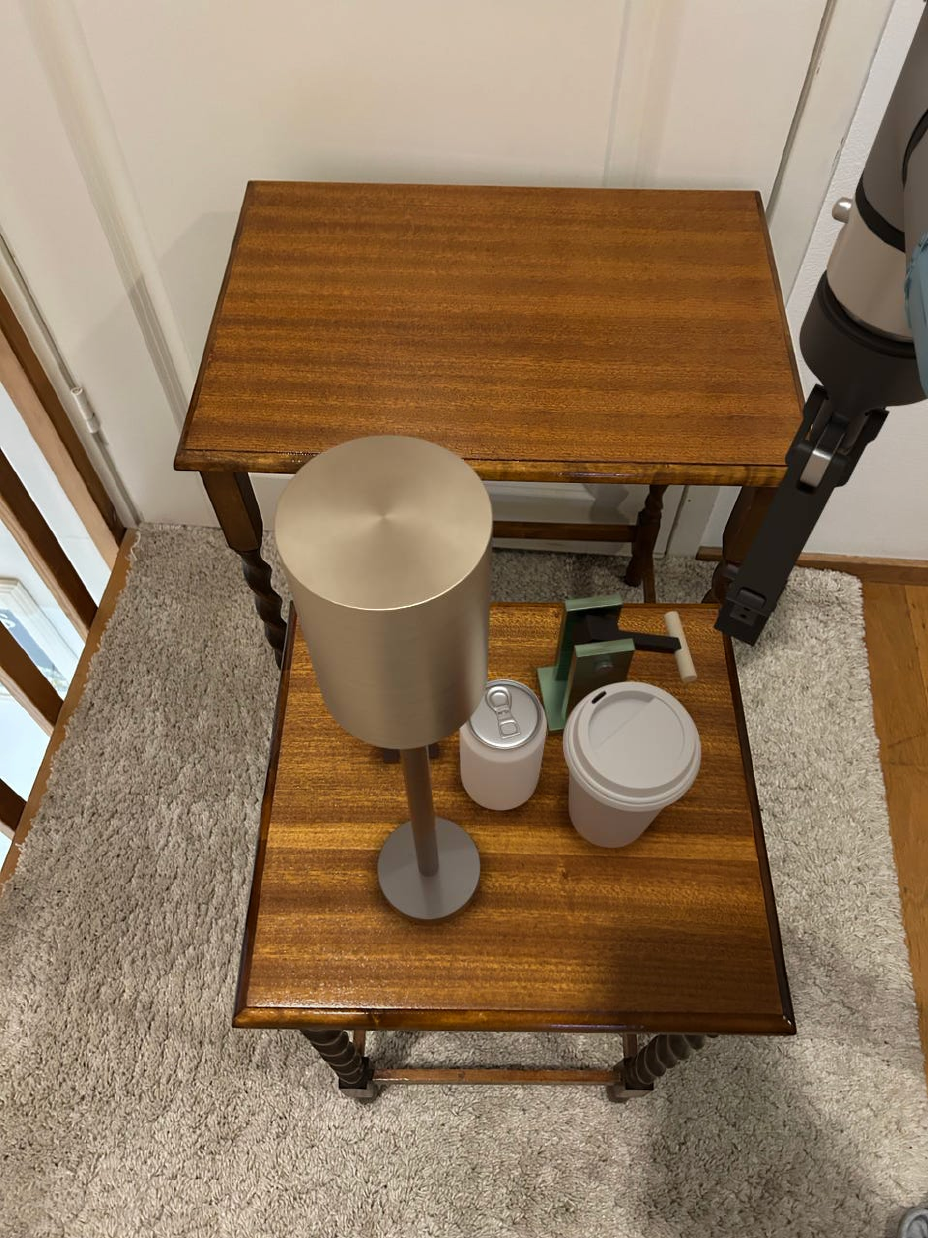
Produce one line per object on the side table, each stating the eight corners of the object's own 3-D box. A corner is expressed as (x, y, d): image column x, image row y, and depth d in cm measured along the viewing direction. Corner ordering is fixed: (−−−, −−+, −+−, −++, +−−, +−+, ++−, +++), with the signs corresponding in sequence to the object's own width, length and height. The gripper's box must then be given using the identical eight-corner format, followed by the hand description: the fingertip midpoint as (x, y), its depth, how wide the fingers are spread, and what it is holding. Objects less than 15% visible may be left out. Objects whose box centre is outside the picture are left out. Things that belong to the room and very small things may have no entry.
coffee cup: (638, 740, 79) (670, 654, 66) (687, 845, 74) (732, 775, 62) (532, 774, 78) (544, 693, 65) (575, 883, 73) (598, 819, 60)
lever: (668, 623, 78) (684, 607, 76) (686, 687, 75) (704, 672, 73) (565, 609, 74) (580, 593, 72) (580, 676, 71) (597, 661, 69)
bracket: (613, 664, 83) (635, 585, 72) (628, 725, 80) (654, 653, 69) (535, 674, 82) (546, 596, 72) (548, 736, 79) (561, 665, 68)
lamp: (501, 882, 73) (538, 532, 34) (419, 948, 71) (355, 652, 31) (439, 805, 76) (407, 403, 37) (358, 865, 74) (231, 502, 34)
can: (524, 730, 80) (532, 663, 69) (549, 800, 76) (561, 741, 66) (451, 750, 79) (448, 685, 69) (473, 821, 76) (473, 765, 65)
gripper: (905, 130, 50) (788, 412, 68) (722, 436, 39) (641, 675, 57) (1050, 174, 48) (890, 452, 66) (901, 510, 37) (758, 733, 55)
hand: (774, 556), depth 61 cm, fingers open, 13 cm apart
